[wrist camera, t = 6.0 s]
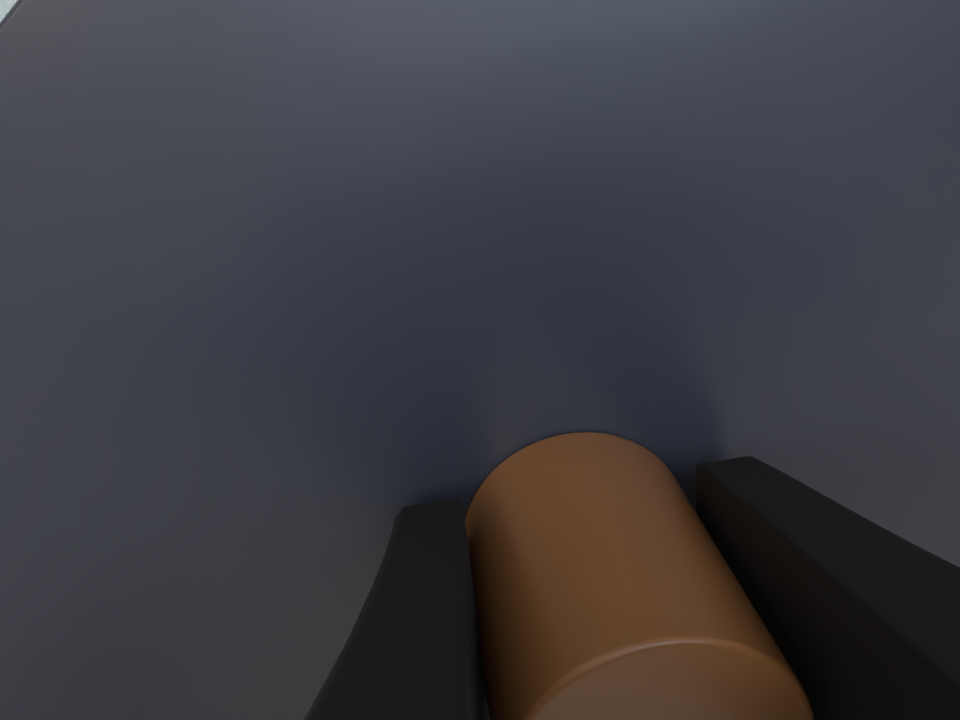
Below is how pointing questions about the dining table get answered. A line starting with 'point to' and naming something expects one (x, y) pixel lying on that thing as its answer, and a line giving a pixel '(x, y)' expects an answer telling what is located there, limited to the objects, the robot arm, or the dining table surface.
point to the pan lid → (457, 332)
